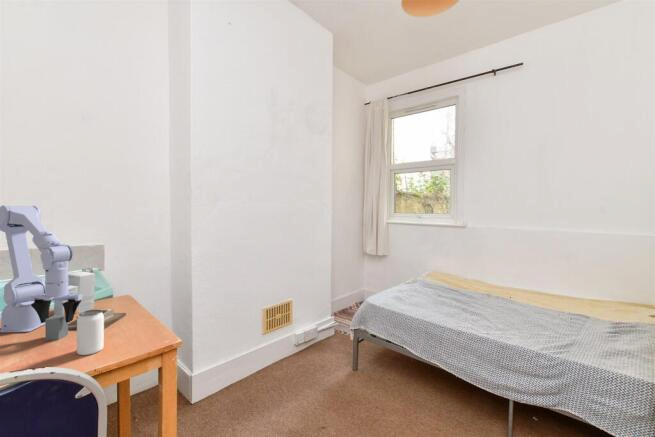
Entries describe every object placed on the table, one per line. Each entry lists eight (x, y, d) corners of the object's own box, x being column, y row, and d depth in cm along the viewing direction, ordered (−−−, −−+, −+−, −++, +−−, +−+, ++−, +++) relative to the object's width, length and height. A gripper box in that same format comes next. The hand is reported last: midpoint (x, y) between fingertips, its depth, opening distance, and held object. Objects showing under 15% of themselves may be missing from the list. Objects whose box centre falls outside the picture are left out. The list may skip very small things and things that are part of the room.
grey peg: (45, 340, 96) (45, 319, 96) (55, 334, 100) (55, 314, 100) (58, 339, 97) (58, 319, 97) (68, 334, 101) (68, 314, 101)
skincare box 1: (62, 320, 112) (62, 290, 112) (53, 319, 113) (53, 289, 113) (78, 315, 118) (78, 286, 118) (70, 314, 119) (70, 285, 118)
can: (87, 345, 94) (87, 308, 93) (108, 345, 94) (108, 309, 94) (71, 356, 87) (71, 316, 87) (94, 355, 88) (94, 316, 87)
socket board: (61, 329, 104) (61, 320, 104) (89, 315, 118) (89, 306, 118) (103, 329, 106) (103, 319, 106) (125, 315, 120) (126, 306, 120)
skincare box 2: (64, 310, 122) (64, 274, 122) (81, 305, 129) (81, 270, 128) (78, 313, 120) (78, 276, 119) (95, 308, 126) (95, 272, 126)
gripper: (21, 284, 93) (22, 326, 94) (71, 284, 95) (71, 325, 95) (41, 279, 100) (41, 318, 101) (86, 279, 102) (86, 317, 102)
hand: (57, 321), depth 98 cm, fingers open, 7 cm apart
